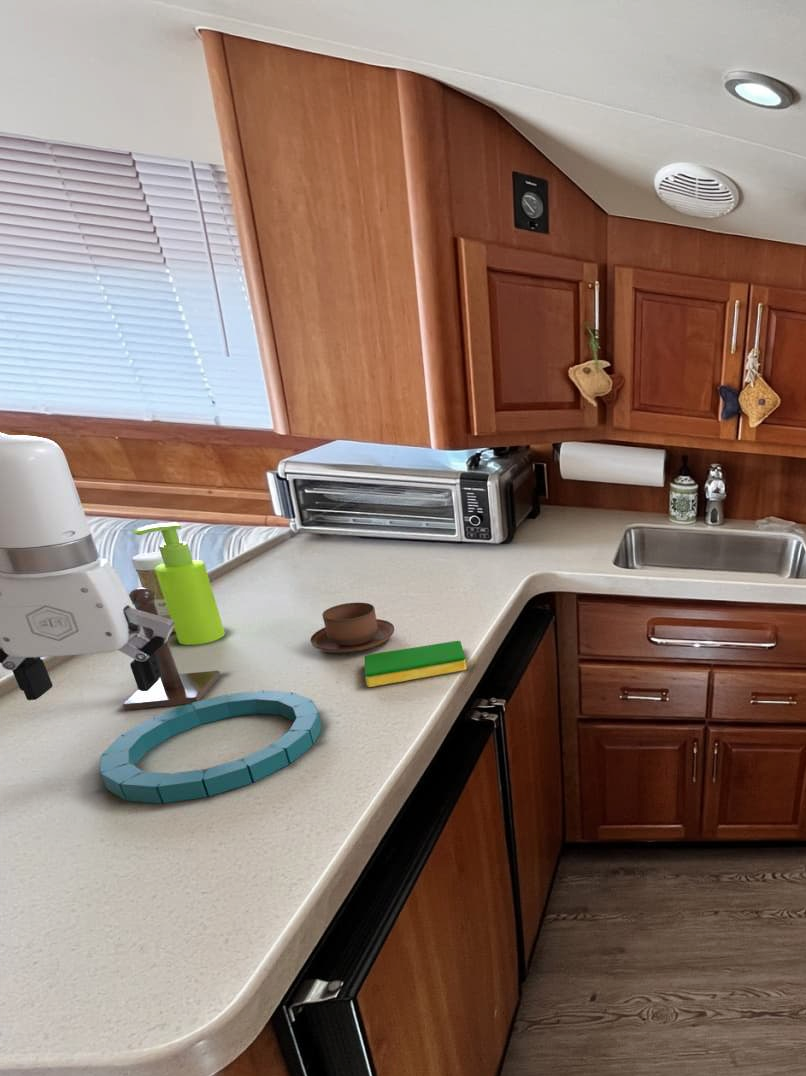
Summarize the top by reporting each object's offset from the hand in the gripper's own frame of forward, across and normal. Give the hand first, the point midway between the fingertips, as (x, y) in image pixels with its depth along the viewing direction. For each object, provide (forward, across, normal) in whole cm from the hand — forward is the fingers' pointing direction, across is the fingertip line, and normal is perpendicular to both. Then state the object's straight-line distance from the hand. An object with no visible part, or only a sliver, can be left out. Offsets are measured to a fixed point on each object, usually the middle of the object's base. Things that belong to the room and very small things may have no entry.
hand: (96, 689), depth 75 cm
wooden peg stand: (+10, -1, +17) cm, 20 cm away
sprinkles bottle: (+11, -10, +41) cm, 43 cm away
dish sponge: (+10, +30, +17) cm, 36 cm away
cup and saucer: (+10, +19, +29) cm, 36 cm away
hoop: (+10, +10, 0) cm, 14 cm away
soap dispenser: (+11, -5, +36) cm, 38 cm away
